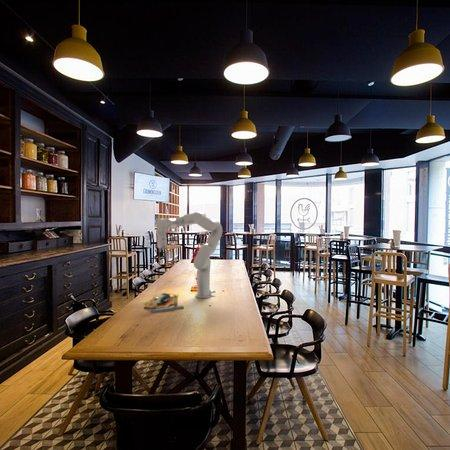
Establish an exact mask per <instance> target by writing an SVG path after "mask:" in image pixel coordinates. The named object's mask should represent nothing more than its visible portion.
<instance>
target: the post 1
mask: <svg viewBox="0 0 450 450" xmlns="http://www.w3.org/2000/svg"><path fill="white" fill-rule="evenodd" d="M151 299H153V309H157V299H158V297H157V296H153V297H152V298H151Z"/></svg>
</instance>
